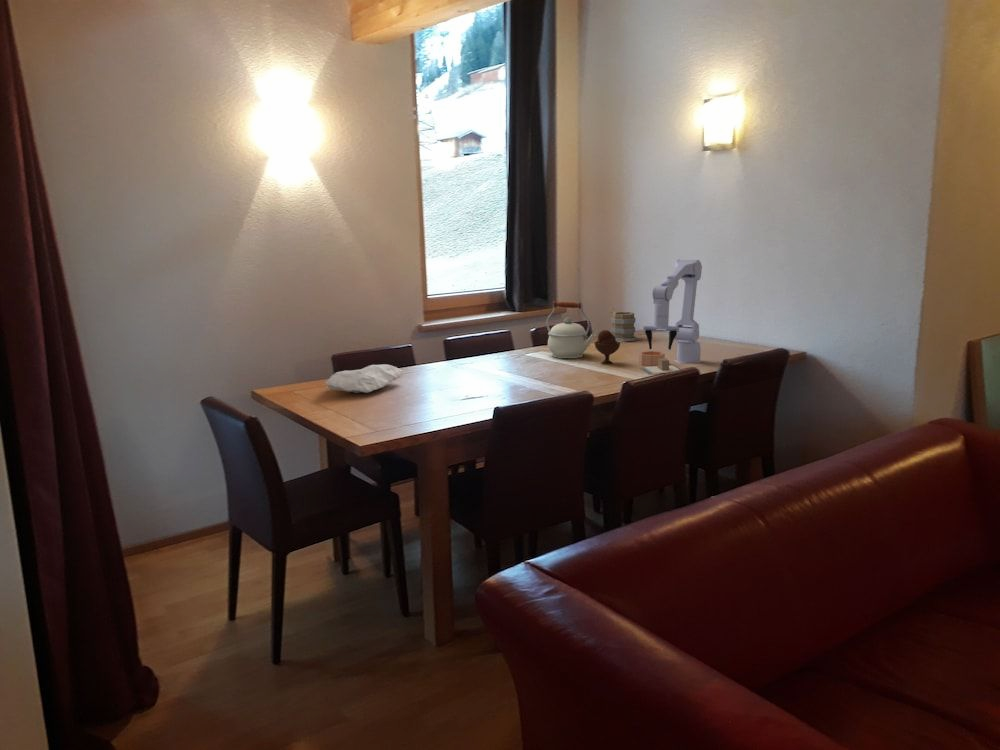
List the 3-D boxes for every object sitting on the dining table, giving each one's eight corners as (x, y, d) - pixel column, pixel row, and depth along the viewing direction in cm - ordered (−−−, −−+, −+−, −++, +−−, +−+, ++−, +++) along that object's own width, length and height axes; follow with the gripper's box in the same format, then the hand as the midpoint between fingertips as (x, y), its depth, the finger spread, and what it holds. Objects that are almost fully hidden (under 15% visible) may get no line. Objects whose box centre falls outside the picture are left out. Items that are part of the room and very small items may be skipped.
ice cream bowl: (619, 366, 321) (619, 331, 318) (593, 366, 323) (593, 331, 320) (620, 361, 331) (621, 328, 328) (595, 361, 333) (595, 327, 330)
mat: (676, 367, 317) (676, 366, 317) (687, 373, 306) (687, 372, 306) (639, 369, 315) (639, 368, 315) (649, 375, 304) (649, 374, 303)
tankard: (639, 341, 380) (640, 311, 377) (616, 343, 377) (617, 313, 374) (622, 335, 399) (623, 307, 396) (600, 337, 396) (600, 308, 393)
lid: (671, 366, 317) (672, 356, 316) (682, 372, 305) (683, 361, 304) (644, 368, 315) (644, 357, 314) (654, 374, 304) (654, 363, 303)
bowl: (658, 361, 330) (658, 350, 328) (666, 366, 320) (667, 354, 319) (636, 362, 328) (636, 351, 327) (644, 367, 318) (644, 355, 317)
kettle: (537, 357, 345) (536, 302, 340) (556, 350, 360) (556, 298, 355) (585, 362, 332) (586, 305, 326) (604, 355, 347) (604, 301, 341)
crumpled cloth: (304, 390, 284) (305, 367, 282) (378, 373, 310) (378, 352, 307) (342, 409, 270) (343, 385, 267) (416, 390, 295) (417, 368, 292)
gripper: (644, 316, 301) (643, 350, 303) (681, 317, 300) (679, 350, 302) (642, 314, 308) (641, 347, 310) (678, 315, 307) (676, 348, 309)
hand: (660, 349), depth 307 cm, fingers open, 7 cm apart
